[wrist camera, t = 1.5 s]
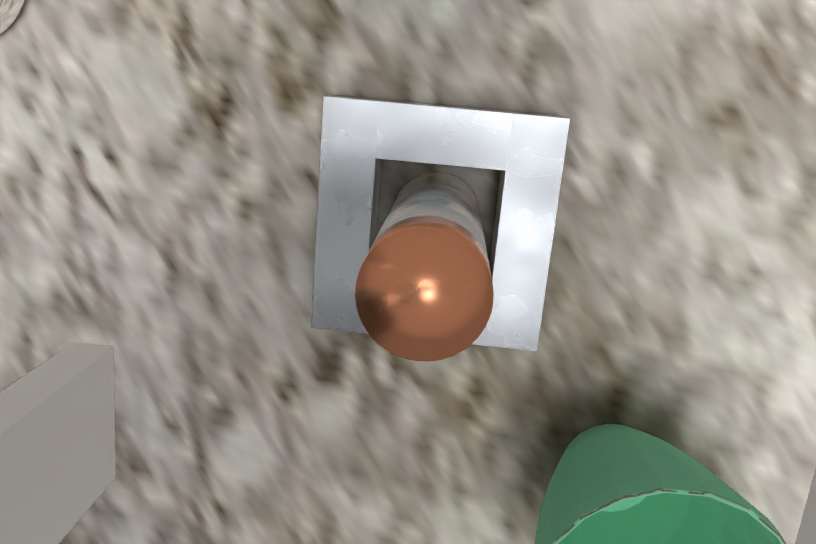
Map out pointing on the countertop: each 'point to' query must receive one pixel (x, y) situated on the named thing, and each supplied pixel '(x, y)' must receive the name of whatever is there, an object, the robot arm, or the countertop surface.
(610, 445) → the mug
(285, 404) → the countertop surface
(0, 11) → the water bottle
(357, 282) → the pin
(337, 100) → the block
